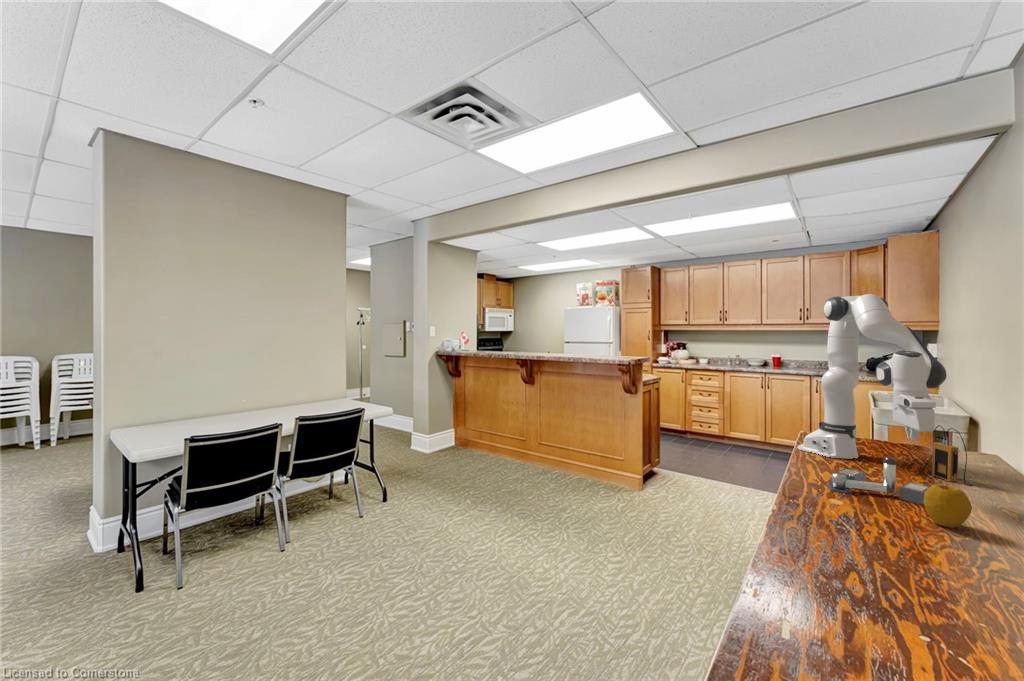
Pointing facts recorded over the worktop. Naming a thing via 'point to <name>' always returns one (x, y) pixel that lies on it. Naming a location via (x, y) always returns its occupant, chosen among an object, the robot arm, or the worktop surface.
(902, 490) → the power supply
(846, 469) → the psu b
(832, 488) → the arm mount
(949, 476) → the multimeter
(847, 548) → the worktop surface
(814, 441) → the robot arm
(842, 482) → the grey crank handle
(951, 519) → the apple
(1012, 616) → the worktop surface
